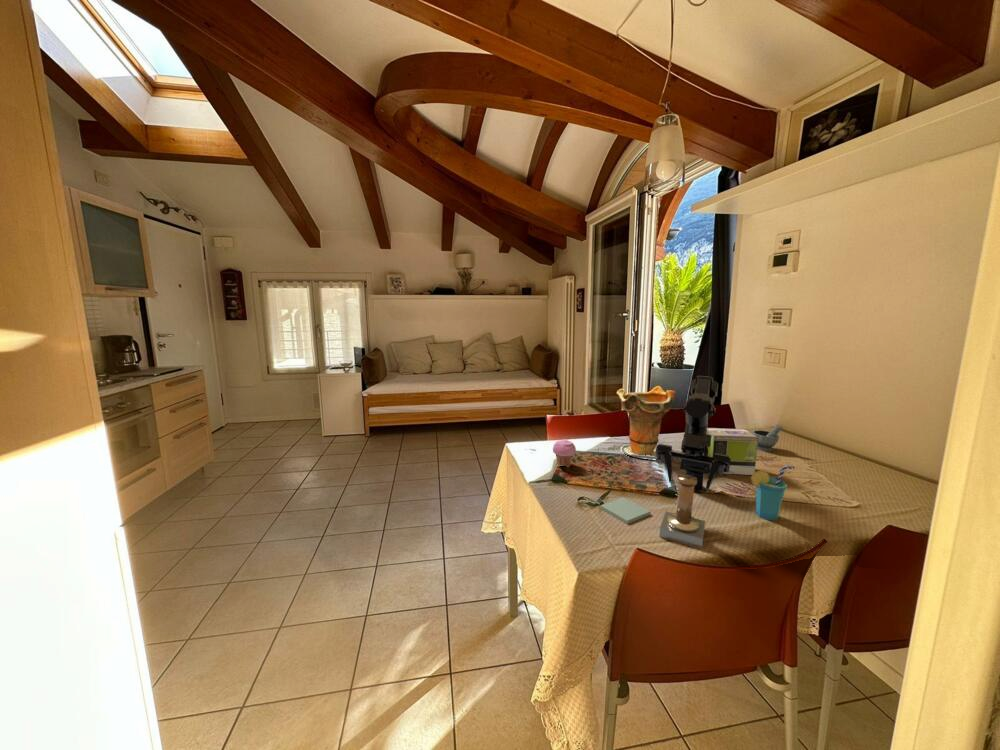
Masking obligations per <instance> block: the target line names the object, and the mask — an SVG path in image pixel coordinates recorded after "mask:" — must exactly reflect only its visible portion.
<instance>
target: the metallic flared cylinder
mask: <svg viewBox="0 0 1000 750" xmlns="http://www.w3.org/2000/svg"><path fill="white" fill-rule="evenodd" d="M676 480H677V482H678V495H677V503H676V513H674V514H670V515H669V516H668V524H669V525H670V526H672V527H673V528H675V529H677V530H680V531H684V532H695V531H697V530H698V529H699V522H698V520H696V519H697V518H695V517H694V516H692V514H693V505H694V493H695V491H694V485H696V484H697V478H696V477H694V476H691V475H686V474H685V473H683V474H678V475H677V479H676Z"/></svg>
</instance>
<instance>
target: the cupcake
mask: <svg viewBox="0 0 1000 750" xmlns="http://www.w3.org/2000/svg"><path fill="white" fill-rule="evenodd" d="M552 452H553V454H554V455H555V457H556V463H557V466H558V465H562V466H570V467H571V464H572V461H573V459H574V456H575V455H576V452H577V449H576V446H575V444H574V442H572V441H570V440H568V439H561V440H557V441H555V443H554V444H553V448H552Z"/></svg>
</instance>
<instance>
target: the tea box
mask: <svg viewBox="0 0 1000 750" xmlns="http://www.w3.org/2000/svg"><path fill="white" fill-rule="evenodd" d="M707 434H708V435H711V444H710V447H708V456H710V457H713V458H714V454H715V453H718V454H724V455H729V456H730V458H731V461H730V469H729V472H728V473H725V472H723V475H724V474H728V475H744V476H745V475H747V476H752V475H753V474H754V472H756V464H757V455H758V449H757V445H758V437H757V436H755V435H754V434H752V432H750V431H749V430H747V429H745V428H725V427H724V428H722V427H721V428H719V427H718V428H717V427H707ZM706 468H707V467H706Z"/></svg>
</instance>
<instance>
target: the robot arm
mask: <svg viewBox="0 0 1000 750" xmlns="http://www.w3.org/2000/svg"><path fill="white" fill-rule="evenodd" d="M718 389H719V382H717V381H716V380H714V377H712V376H707V375H705V376H704V375H697V376H696V378H694V379H692V380H691V385H690V394H691V395H689V397H688V400H686V401H685V403H684V405H683V413H684V414H685V428H684V433H683V439H682V441H681V445H680V446H681V447H680V450H681V451H678V450H673V446H672V445H669V444H664V443H663V444H662V443H658V444H657V446H656V447H655V448H656V456H657V459H658V460H657V461H660V463H661V464H664V467H665V469H666V472H667V478H668V479H667V480H668V482H669V484H670V483H671V482H672V477H673V476H672V472H673V464H672V463H673V462H672V458H675V459H680V467H679V468H680V469H679V470H682V471H683V470H684V474H686V475H691V476H694V477H696V478H697V484H696V485H694V492H708V491H709V490H710V487H711V486H712V485H713V482H714V481H715V479H716V478H718V476H719V475H724V473H723V472H725V473H728V472H729V469H730V461H731V458H730V456H729V455H724V454H718V453H715V454H714V458H713V457H710V456H708V447H710V444H711V435H708V434H707V428H708V425H709V423H708V420H709V419H710V417H713V415H715V414H716V409H717V408H716V407H715V405H714V403H715V397H718ZM706 467H707V468H706ZM704 474H705V475H708V477H707V481H706V486H704Z"/></svg>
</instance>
